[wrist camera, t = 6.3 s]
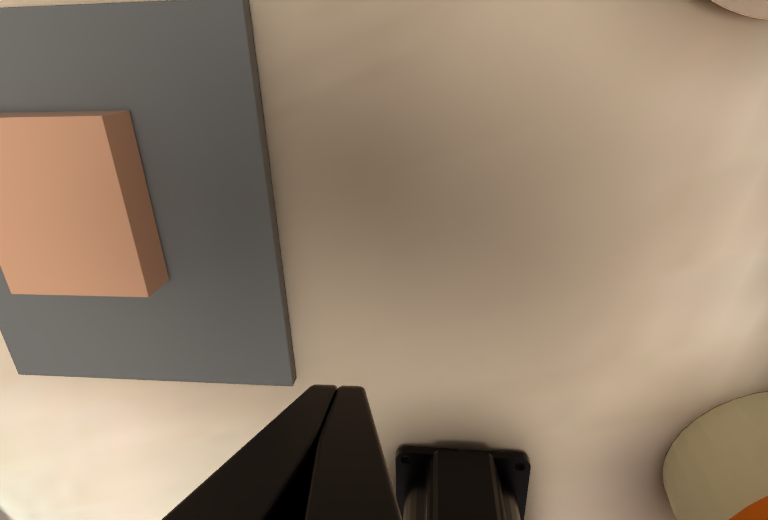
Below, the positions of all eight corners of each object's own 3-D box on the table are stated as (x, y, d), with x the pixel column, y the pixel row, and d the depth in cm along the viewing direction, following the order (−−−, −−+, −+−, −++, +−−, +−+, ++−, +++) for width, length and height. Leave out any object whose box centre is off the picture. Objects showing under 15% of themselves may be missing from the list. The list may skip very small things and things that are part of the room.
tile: (148, 297, 19) (11, 293, 20) (169, 279, 21) (41, 276, 21) (101, 115, 16) (-58, 118, 17) (130, 109, 18) (-17, 112, 18)
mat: (296, 378, 23) (292, 386, 22) (28, 366, 24) (18, 374, 24) (248, -1, 16) (241, -3, 16) (-115, 14, 18) (-132, 13, 17)
